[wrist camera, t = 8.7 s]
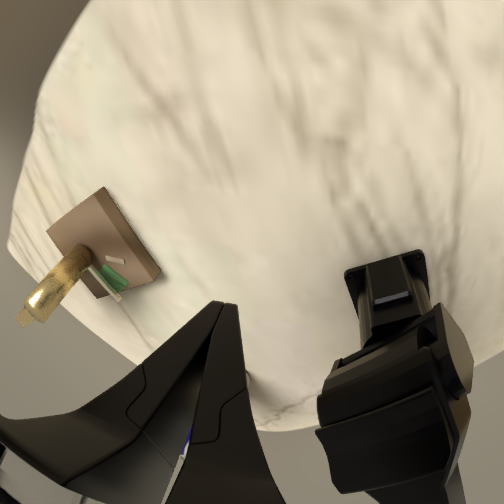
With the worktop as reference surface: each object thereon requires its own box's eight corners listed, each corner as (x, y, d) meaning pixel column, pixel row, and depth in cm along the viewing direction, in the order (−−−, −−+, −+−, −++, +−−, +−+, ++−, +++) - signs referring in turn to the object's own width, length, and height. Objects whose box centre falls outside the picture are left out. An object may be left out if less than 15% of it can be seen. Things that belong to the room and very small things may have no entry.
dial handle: (118, 313, 29) (83, 370, 22) (56, 273, 27) (15, 321, 21) (128, 273, 25) (83, 338, 19) (56, 229, 24) (4, 280, 18)
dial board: (160, 270, 26) (153, 281, 25) (103, 289, 30) (96, 299, 29) (103, 186, 22) (92, 195, 21) (54, 223, 26) (45, 231, 25)
